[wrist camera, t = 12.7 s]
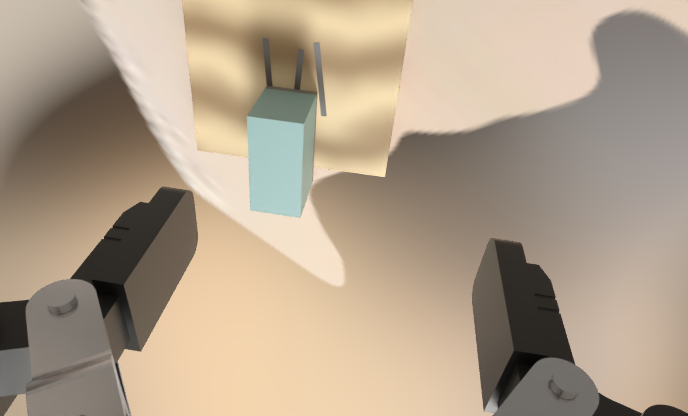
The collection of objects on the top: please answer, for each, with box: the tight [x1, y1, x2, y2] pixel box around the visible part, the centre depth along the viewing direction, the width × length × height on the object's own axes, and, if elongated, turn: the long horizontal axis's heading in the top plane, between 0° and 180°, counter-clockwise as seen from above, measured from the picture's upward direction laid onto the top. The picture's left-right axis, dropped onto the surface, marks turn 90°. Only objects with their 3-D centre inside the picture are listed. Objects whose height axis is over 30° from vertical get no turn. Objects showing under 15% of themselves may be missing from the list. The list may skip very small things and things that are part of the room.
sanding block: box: [247, 86, 318, 218], centre depth 42 cm, size 9×4×6 cm, turn 175°
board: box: [182, 0, 413, 177], centre depth 41 cm, size 22×18×2 cm
